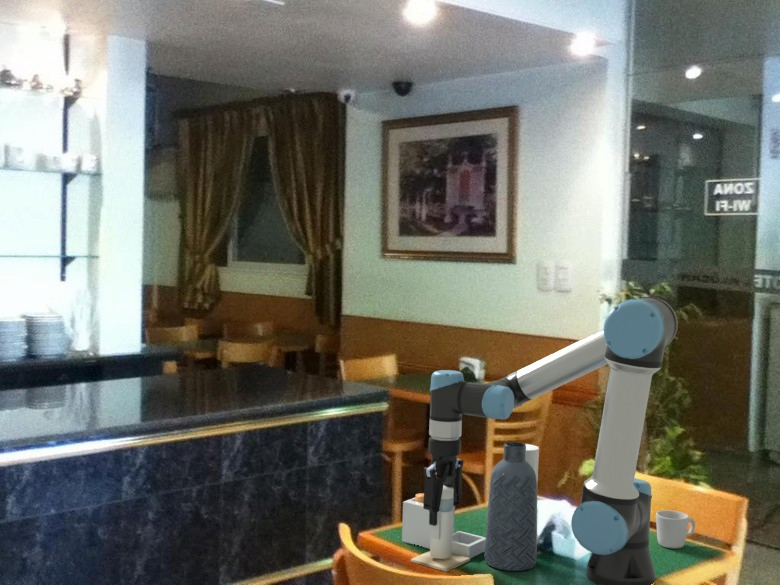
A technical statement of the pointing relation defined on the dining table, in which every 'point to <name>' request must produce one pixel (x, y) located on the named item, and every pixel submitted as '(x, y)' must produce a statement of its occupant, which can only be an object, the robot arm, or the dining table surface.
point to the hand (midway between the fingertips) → (441, 535)
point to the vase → (512, 512)
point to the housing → (418, 531)
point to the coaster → (440, 561)
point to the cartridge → (444, 526)
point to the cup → (673, 528)
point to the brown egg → (419, 498)
